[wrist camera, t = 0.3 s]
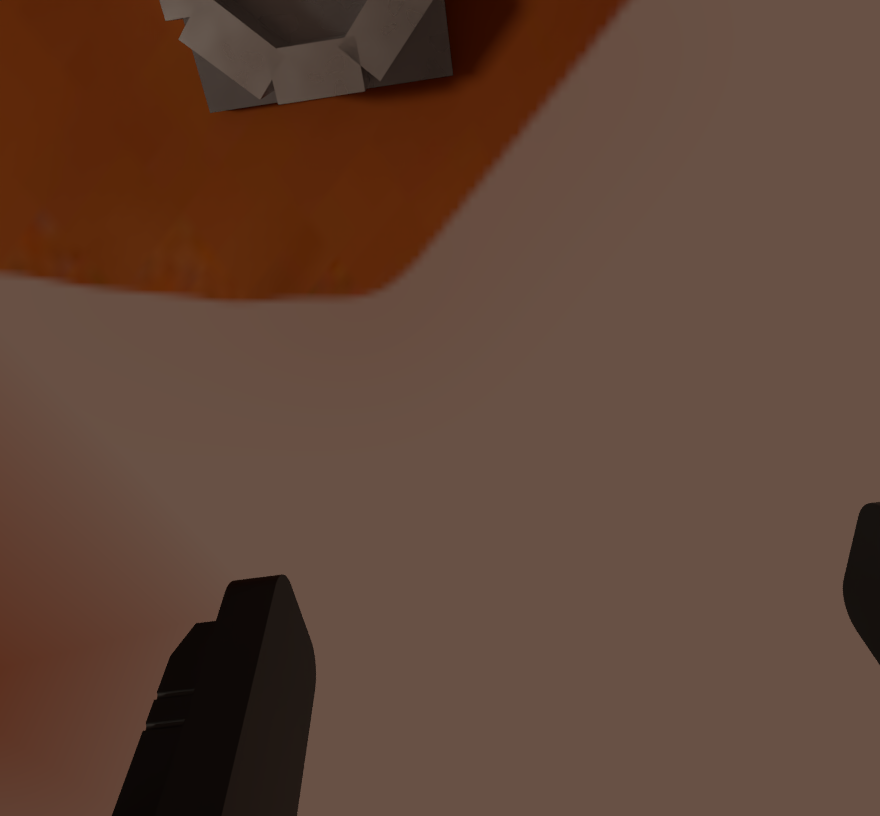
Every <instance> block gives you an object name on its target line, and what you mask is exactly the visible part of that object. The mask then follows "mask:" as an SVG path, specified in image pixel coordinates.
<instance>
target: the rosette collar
mask: <svg viewBox="0 0 880 816" xmlns="http://www.w3.org/2000/svg"><path fill="white" fill-rule="evenodd" d="M160 4H161V7H162V10H163V14H164V17H165V20H166V21H169V20H178V19H183V20H184V23H185V28H184V30H183V32H182V33H181V35H180V37H179V40H180V41H181V42H183V43H184V44H185V45H187V46H188V47H189V48H191V49H192V51H193V54H194V58H195V61H196V65H197V68H198V72H199V75H200V79H201V82H202V86H203V89H204V93H205V96H206V100H207V103H208V107H209V110H210V113H212V112H219V111H225V110H232V109H238V108H245V107H251V106H258V105H264V104H271V103H277V102H278V105H280V104H286V103H293V102H299V101H306V100H312V99H319V98H325V97H332V96H338V95H345V94H351V93H358V92H364V91H366V89H368V88H374V87H381V86H387V85H394V84H400V83H407V82H413V81H419V80H426V79H432V78H439V77H445V76H452V75H453V70H452V62H451V53H450V44H449V36H448V27H447V18H446V10H445V1H444V0H160Z"/></svg>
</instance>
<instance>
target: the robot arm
mask: <svg viewBox="0 0 880 816" xmlns="http://www.w3.org/2000/svg"><path fill="white" fill-rule="evenodd" d="M843 596H844V602H845V606H846V609H847V612H848V615H849V617H850V619H851V622H852V624H853V625H854V627H855V629H856V630H857V632H858V633H859V635H860V636H861V638H862V639H863V641H864V642H865V644H866V645H867V646H868V648H869V650H870V651H871V653H872V654H873V656H874V657H875V658H876V660H877V661H878V663H879V664H880V502H876V503H869V504H866V505H865V506H863V507H862V509H861V511H860V513H859V516H858V520H857V525H856V529H855V534H854V538H853V542H852V546H851V550H850V555H849V559H848V563H847V568H846V572H845V576H844V581H843ZM315 683H316V666H315V655H314V650H313V646H312V642H311V640H310V636H309V634H308V631H307V628H306V625H305V623H304V620H303V617H302V614H301V611H300V609H299V606H298V603H297V601H296V598H295V595H294V592H293V589H292V587H291V584H290V581H289V580H288V578H287V577H286V576H285V575H275V576H267V577H260V578H251V579H243V580H236V581H232V582H231V583H230V584H229V585H228V587H227V589H226V591H225V594H224V597H223V600H222V604H221V607H220V610H219V613H218V616H217V619H216V621H212V622H204V623H196V624H195V625H194V627H193V628H192V629H191V631H190V632H189V633H188V634H187V636H186V637H185V638H184V639H183V641H182V642H181V643H180V644H179V646H178V647H177V648H176V650H175V651H174V652H173V653H172V655H171V656H170V658H169V661H168V664H167V666H166V669H165V672H164V675H163V677H162V680H161V683H160V686H159V688H158V691H157V694H158V697H157V700H154V702H153V705H152V707H151V710H150V713H149V716H148V718H147V721H146V730H145V731H143V732H142V735H141V738H140V740H139V743H138V746H137V748H136V751H135V754H134V757H133V760H132V762H131V765H130V768H129V770H128V773H127V776H126V778H125V781H124V784H123V787H122V789H121V792H120V795H119V798H118V800H117V803H116V806H115V809H114V811H113V814H112V816H297V811H298V804H299V797H300V789H301V783H302V776H303V769H304V761H305V755H306V747H307V741H308V734H309V728H310V721H311V714H312V707H313V699H314V692H315Z"/></svg>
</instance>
